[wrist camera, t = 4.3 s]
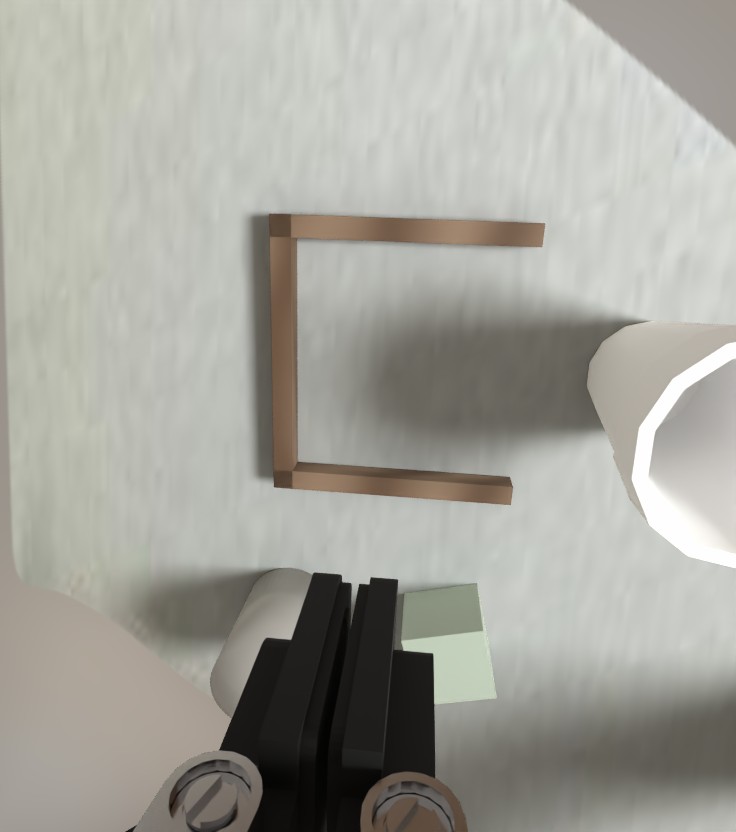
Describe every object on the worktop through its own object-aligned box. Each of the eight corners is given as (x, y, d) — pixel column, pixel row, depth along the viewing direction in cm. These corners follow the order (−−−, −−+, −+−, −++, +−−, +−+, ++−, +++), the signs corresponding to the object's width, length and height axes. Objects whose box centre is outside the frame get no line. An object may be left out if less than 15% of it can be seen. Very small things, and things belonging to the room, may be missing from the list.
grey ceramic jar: (333, 571, 40) (311, 651, 33) (332, 643, 42) (311, 735, 35) (248, 564, 41) (207, 641, 33) (251, 636, 43) (212, 724, 35)
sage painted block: (476, 582, 39) (483, 630, 35) (488, 643, 41) (496, 698, 36) (404, 592, 40) (401, 640, 36) (418, 652, 42) (417, 706, 37)
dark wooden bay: (540, 223, 32) (545, 223, 31) (507, 494, 37) (510, 504, 36) (276, 214, 33) (269, 213, 32) (279, 477, 38) (273, 487, 37)
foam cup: (675, 259, 32) (829, 277, 20) (759, 389, 34) (951, 481, 21) (528, 362, 34) (583, 436, 22) (613, 478, 36) (709, 607, 24)
